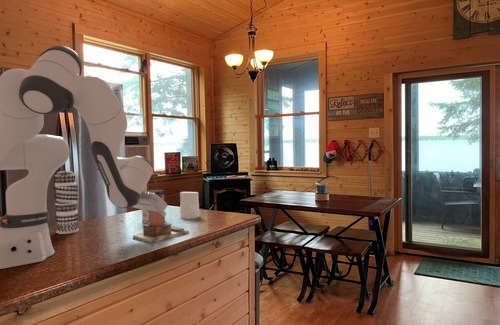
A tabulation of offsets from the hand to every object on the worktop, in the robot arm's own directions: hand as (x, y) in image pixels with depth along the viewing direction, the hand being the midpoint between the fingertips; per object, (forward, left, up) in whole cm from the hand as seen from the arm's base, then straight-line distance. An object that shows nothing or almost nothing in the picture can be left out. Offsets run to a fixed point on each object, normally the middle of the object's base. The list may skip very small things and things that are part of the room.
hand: (158, 214), depth 142 cm
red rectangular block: (-1, 0, -7) cm, 7 cm away
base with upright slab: (+33, +20, -9) cm, 40 cm away
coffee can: (+17, +27, -9) cm, 33 cm away
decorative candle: (-17, +39, -9) cm, 43 cm away
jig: (+1, 0, -9) cm, 9 cm away
